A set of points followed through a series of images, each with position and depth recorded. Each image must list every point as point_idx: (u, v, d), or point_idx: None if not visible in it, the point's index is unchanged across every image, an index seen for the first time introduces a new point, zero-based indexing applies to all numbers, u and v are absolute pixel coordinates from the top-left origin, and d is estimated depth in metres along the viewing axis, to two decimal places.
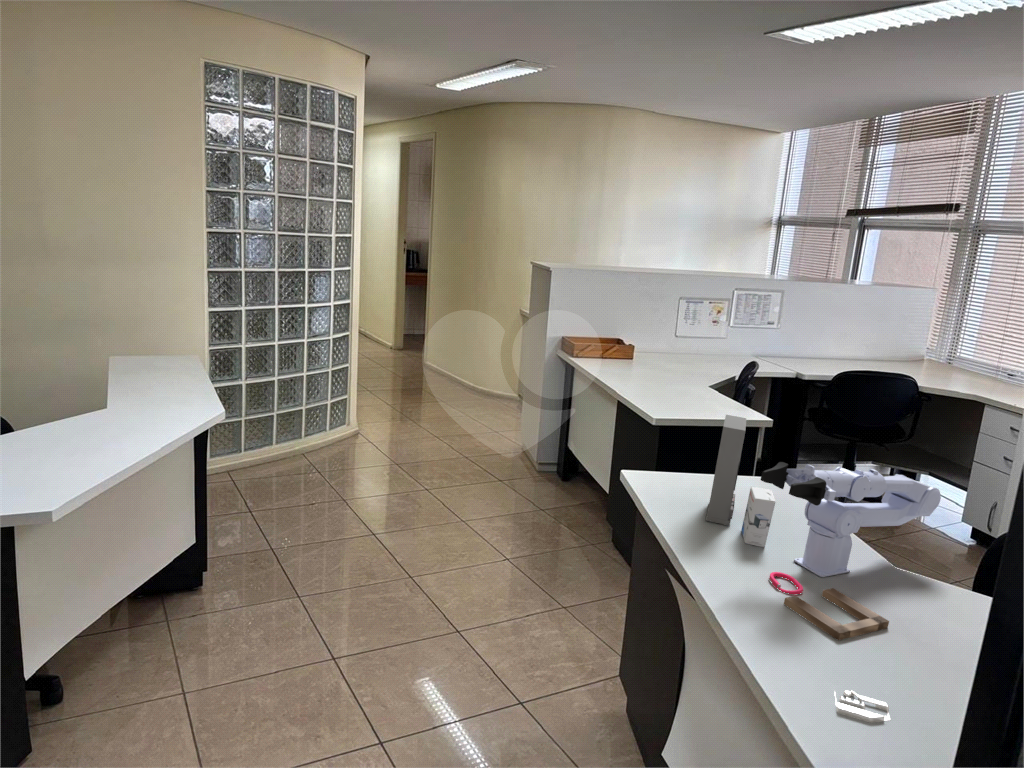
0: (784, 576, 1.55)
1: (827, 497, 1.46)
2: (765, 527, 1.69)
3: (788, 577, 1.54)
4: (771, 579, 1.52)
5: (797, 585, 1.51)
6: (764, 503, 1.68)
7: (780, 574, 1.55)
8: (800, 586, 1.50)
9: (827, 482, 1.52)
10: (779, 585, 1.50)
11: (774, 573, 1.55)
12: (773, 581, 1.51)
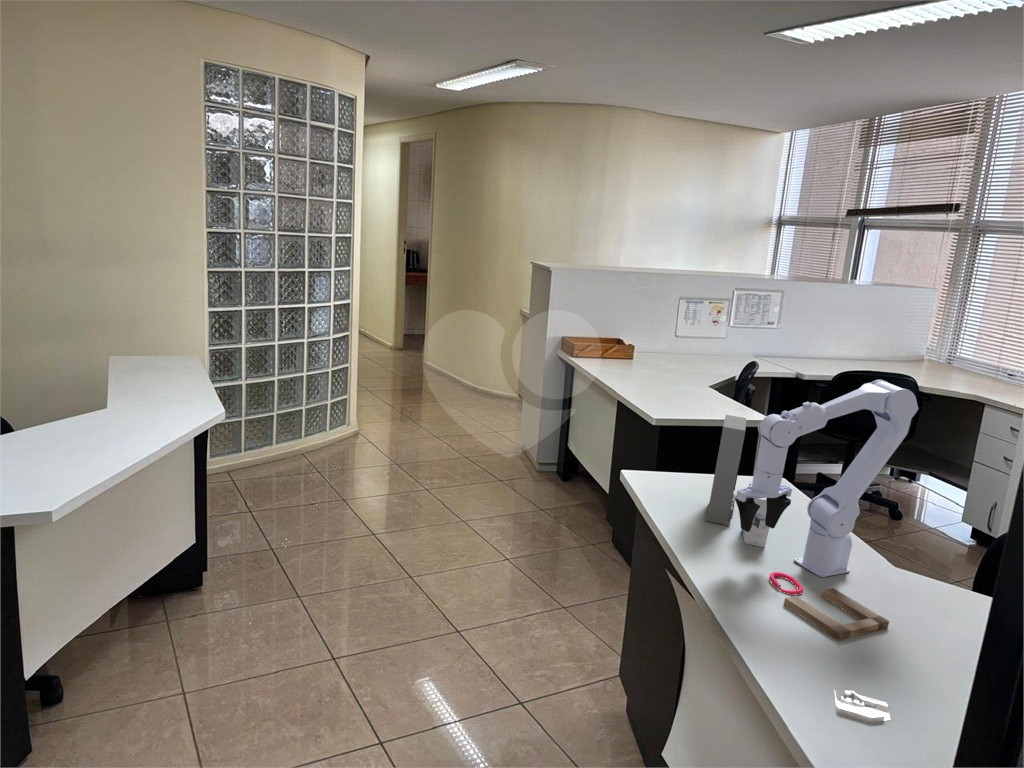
0: (784, 576, 1.55)
1: None
2: (765, 527, 1.69)
3: (788, 577, 1.54)
4: (771, 579, 1.52)
5: (797, 585, 1.51)
6: (764, 503, 1.68)
7: (780, 574, 1.55)
8: (800, 586, 1.50)
9: (755, 475, 1.56)
10: (779, 585, 1.50)
11: (774, 573, 1.55)
12: (773, 581, 1.51)
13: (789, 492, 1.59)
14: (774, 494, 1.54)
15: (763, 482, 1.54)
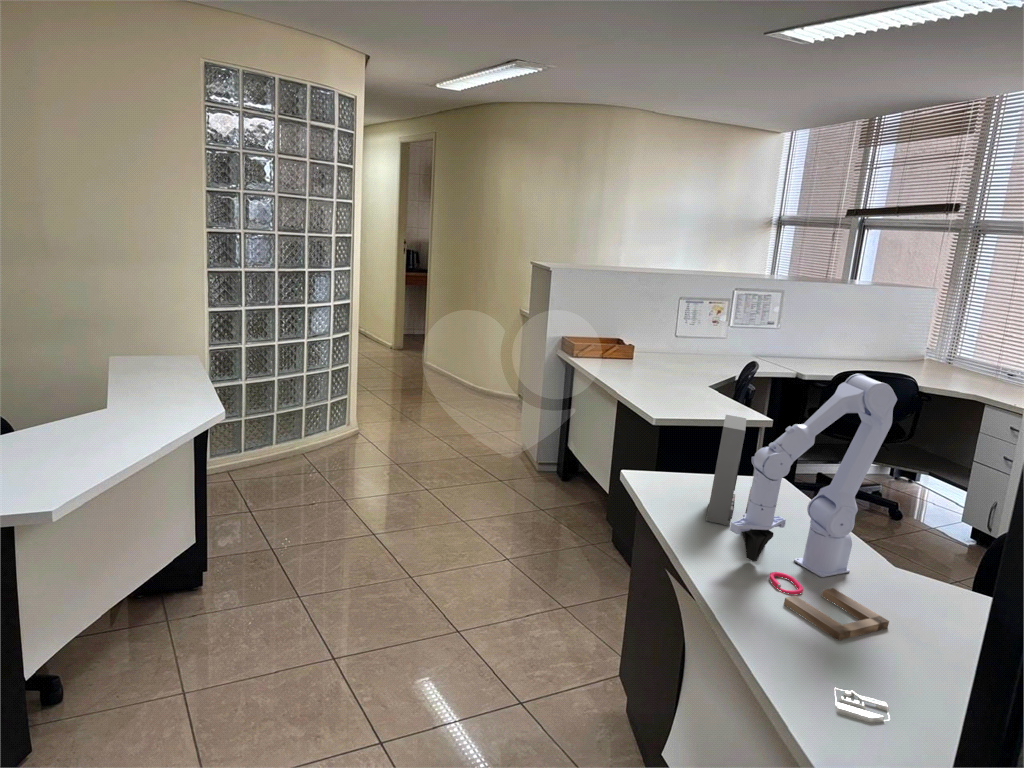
0: (784, 576, 1.55)
1: None
2: None
3: (788, 577, 1.54)
4: (771, 579, 1.52)
5: (797, 585, 1.51)
6: None
7: (780, 574, 1.55)
8: (800, 586, 1.50)
9: (748, 507, 1.58)
10: (779, 585, 1.50)
11: (774, 573, 1.55)
12: (773, 581, 1.51)
13: (783, 523, 1.61)
14: (767, 526, 1.56)
15: (757, 514, 1.56)
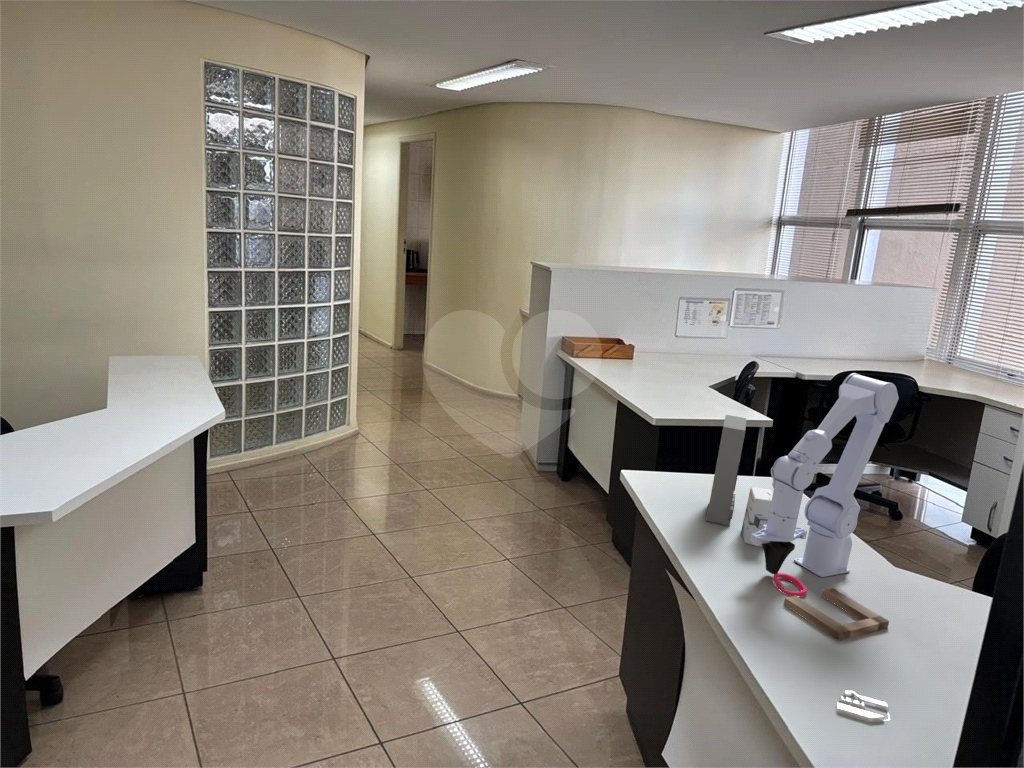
0: (788, 577, 1.54)
1: None
2: None
3: (792, 578, 1.54)
4: (775, 580, 1.52)
5: (801, 586, 1.50)
6: (764, 503, 1.68)
7: (784, 575, 1.54)
8: (804, 587, 1.50)
9: (769, 518, 1.52)
10: (783, 586, 1.49)
11: (778, 574, 1.54)
12: (777, 582, 1.51)
13: (804, 535, 1.56)
14: (789, 538, 1.51)
15: (778, 525, 1.50)
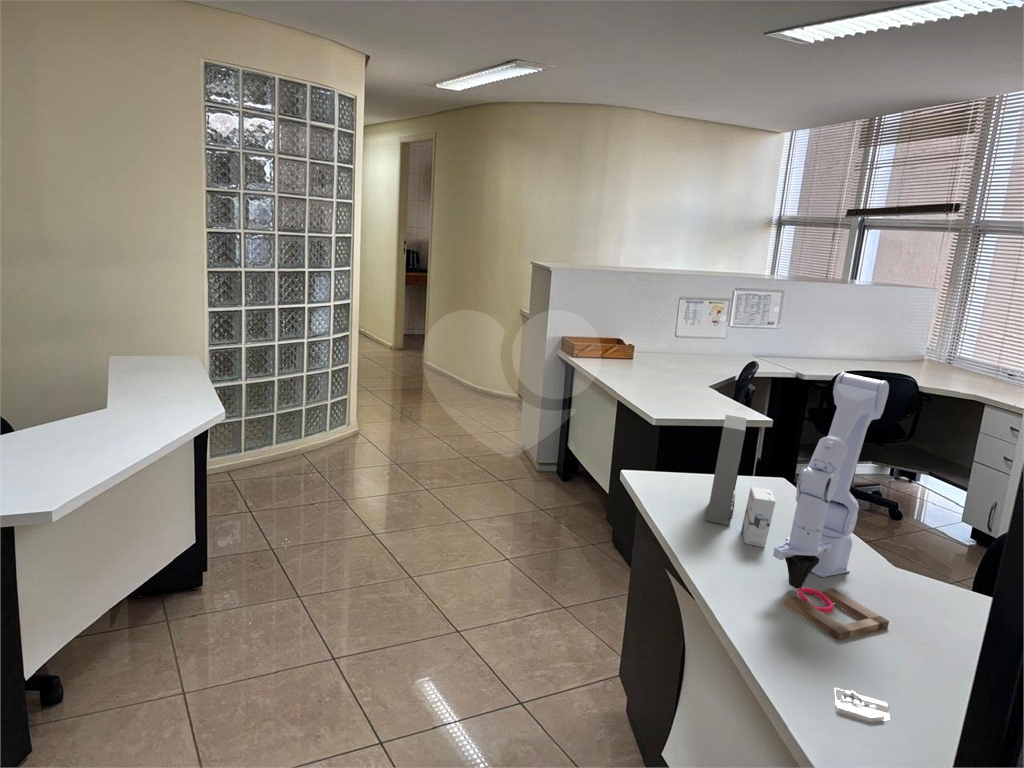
0: (813, 592, 1.49)
1: None
2: (765, 527, 1.69)
3: (817, 593, 1.48)
4: (800, 595, 1.46)
5: (827, 601, 1.45)
6: (764, 503, 1.68)
7: (809, 590, 1.49)
8: (830, 603, 1.44)
9: (792, 530, 1.47)
10: (809, 601, 1.43)
11: (802, 588, 1.49)
12: (802, 597, 1.45)
13: (828, 548, 1.50)
14: (814, 552, 1.45)
15: (802, 539, 1.45)
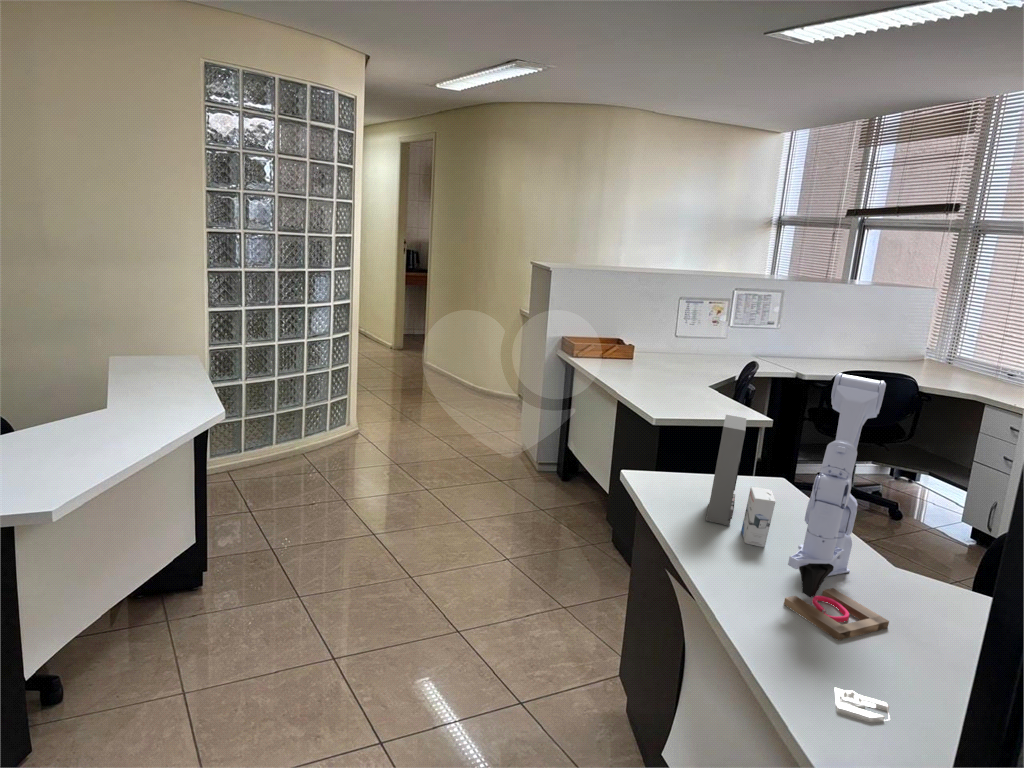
0: (828, 600, 1.46)
1: None
2: (765, 527, 1.69)
3: (832, 601, 1.46)
4: (814, 604, 1.43)
5: (842, 610, 1.42)
6: (764, 503, 1.68)
7: (823, 598, 1.46)
8: (846, 611, 1.41)
9: (807, 538, 1.44)
10: (824, 610, 1.41)
11: (817, 597, 1.46)
12: (817, 606, 1.42)
13: (841, 554, 1.48)
14: (829, 560, 1.42)
15: (817, 546, 1.42)
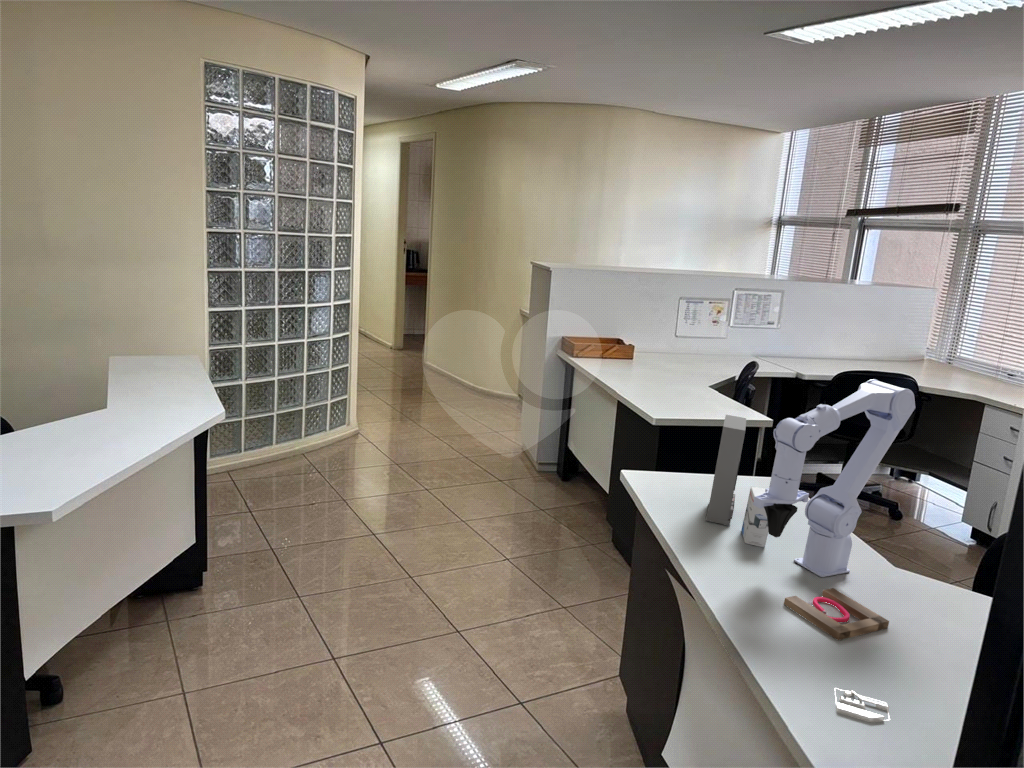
0: (828, 601, 1.46)
1: None
2: (765, 527, 1.69)
3: (832, 602, 1.45)
4: (815, 605, 1.43)
5: (843, 611, 1.42)
6: None
7: (824, 599, 1.46)
8: (846, 613, 1.41)
9: (772, 480, 1.52)
10: (824, 612, 1.41)
11: (817, 598, 1.46)
12: (817, 607, 1.42)
13: (806, 498, 1.55)
14: (792, 500, 1.50)
15: (781, 487, 1.50)
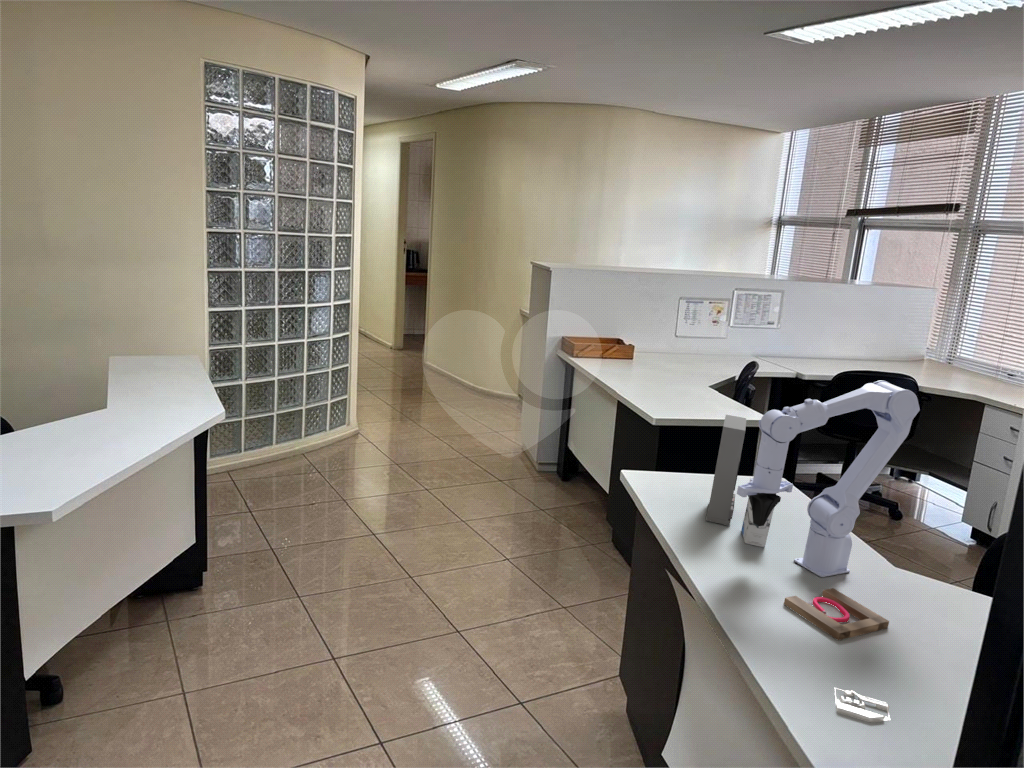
0: (828, 601, 1.46)
1: None
2: (765, 527, 1.69)
3: (832, 603, 1.45)
4: (815, 605, 1.43)
5: (843, 612, 1.42)
6: None
7: (824, 599, 1.46)
8: (846, 613, 1.41)
9: (755, 470, 1.56)
10: (824, 612, 1.41)
11: (817, 598, 1.46)
12: (817, 607, 1.42)
13: (790, 488, 1.59)
14: (775, 490, 1.54)
15: (764, 477, 1.54)
